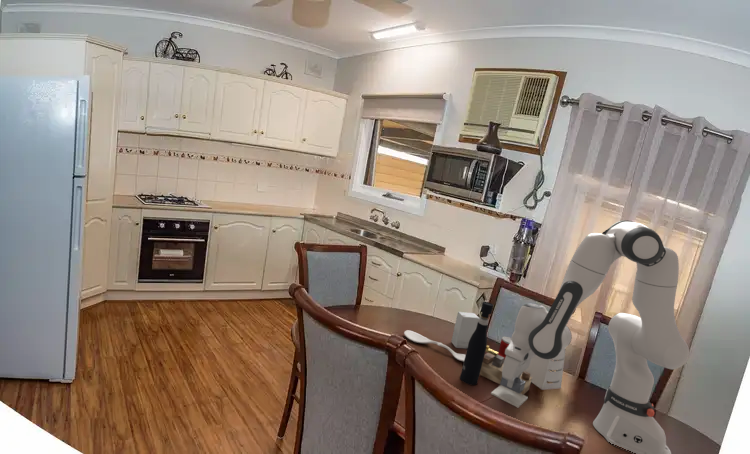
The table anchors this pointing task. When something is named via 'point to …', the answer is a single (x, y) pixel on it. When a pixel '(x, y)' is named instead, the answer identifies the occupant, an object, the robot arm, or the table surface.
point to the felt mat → (509, 396)
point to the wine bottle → (476, 348)
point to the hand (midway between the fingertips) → (512, 384)
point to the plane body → (500, 370)
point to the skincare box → (464, 329)
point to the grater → (547, 371)
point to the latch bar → (491, 351)
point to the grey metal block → (517, 385)
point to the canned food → (504, 346)
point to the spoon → (422, 339)
